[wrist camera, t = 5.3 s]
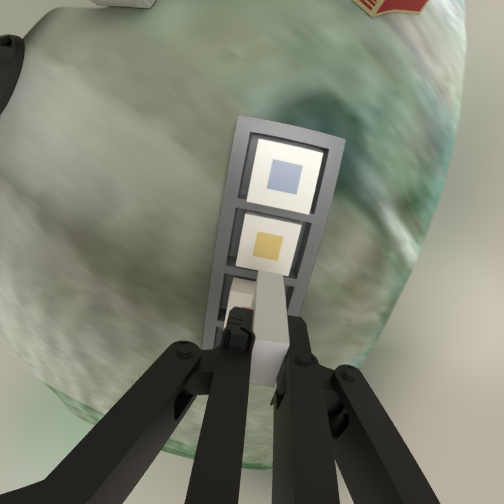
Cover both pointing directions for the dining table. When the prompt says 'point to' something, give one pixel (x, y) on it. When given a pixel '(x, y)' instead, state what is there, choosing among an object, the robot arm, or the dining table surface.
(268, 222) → the key ochre
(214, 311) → the keypad
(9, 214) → the dining table surface
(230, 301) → the key rust
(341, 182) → the dining table surface
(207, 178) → the dining table surface
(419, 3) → the milk carton
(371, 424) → the robot arm
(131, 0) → the supplement box
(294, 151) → the key slate
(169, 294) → the dining table surface
